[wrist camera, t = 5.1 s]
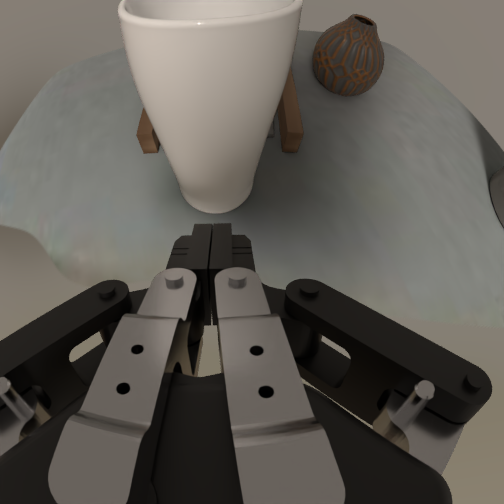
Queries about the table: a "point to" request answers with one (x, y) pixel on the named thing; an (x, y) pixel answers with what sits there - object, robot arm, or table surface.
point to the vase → (349, 56)
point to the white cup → (211, 86)
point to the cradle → (288, 130)
